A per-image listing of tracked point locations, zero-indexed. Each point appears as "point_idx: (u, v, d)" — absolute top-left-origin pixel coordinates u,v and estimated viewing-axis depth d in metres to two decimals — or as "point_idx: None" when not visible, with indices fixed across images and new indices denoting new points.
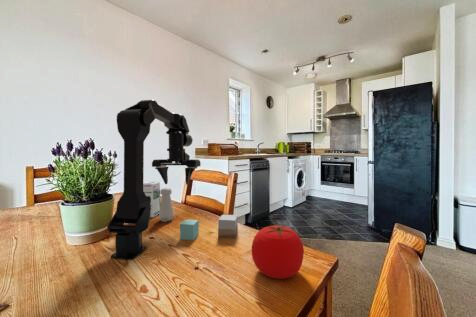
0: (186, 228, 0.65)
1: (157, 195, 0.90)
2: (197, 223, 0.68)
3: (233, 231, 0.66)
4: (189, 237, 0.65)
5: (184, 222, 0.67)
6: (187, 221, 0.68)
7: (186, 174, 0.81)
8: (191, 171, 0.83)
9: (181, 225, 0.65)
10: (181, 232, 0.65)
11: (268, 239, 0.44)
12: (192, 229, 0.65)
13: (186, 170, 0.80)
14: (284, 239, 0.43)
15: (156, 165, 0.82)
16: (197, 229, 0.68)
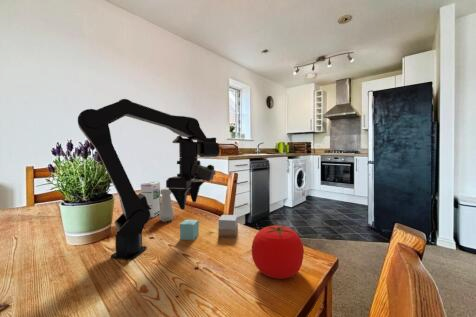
0: (186, 228, 0.65)
1: (157, 195, 0.90)
2: (197, 223, 0.68)
3: (233, 231, 0.66)
4: (189, 237, 0.65)
5: (184, 222, 0.67)
6: (187, 221, 0.68)
7: None
8: (183, 193, 0.61)
9: (181, 225, 0.65)
10: (181, 232, 0.65)
11: (268, 239, 0.44)
12: (192, 229, 0.65)
13: None
14: (284, 239, 0.43)
15: None
16: (197, 229, 0.68)
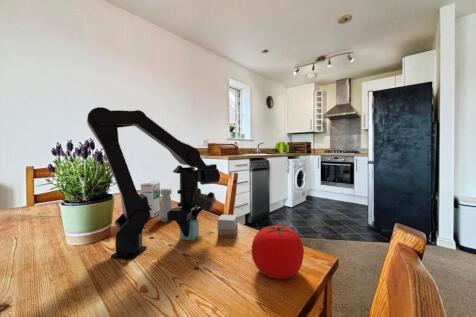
0: None
1: (157, 195, 0.90)
2: (197, 223, 0.68)
3: (233, 231, 0.66)
4: (189, 237, 0.65)
5: None
6: None
7: None
8: (186, 222, 0.63)
9: None
10: (181, 232, 0.65)
11: (268, 239, 0.44)
12: (192, 229, 0.65)
13: None
14: (284, 239, 0.43)
15: None
16: (197, 229, 0.68)
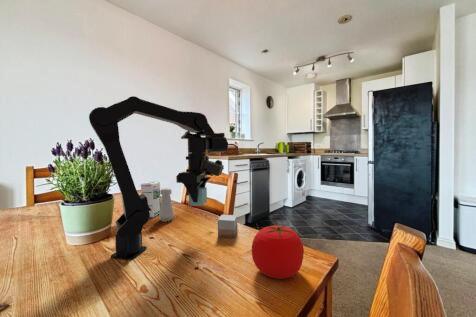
0: None
1: (157, 195, 0.90)
2: (205, 190, 0.68)
3: (233, 231, 0.66)
4: (198, 202, 0.65)
5: None
6: None
7: None
8: (195, 186, 0.63)
9: None
10: (190, 198, 0.66)
11: (268, 239, 0.44)
12: (201, 194, 0.65)
13: None
14: (284, 239, 0.43)
15: None
16: (205, 196, 0.68)
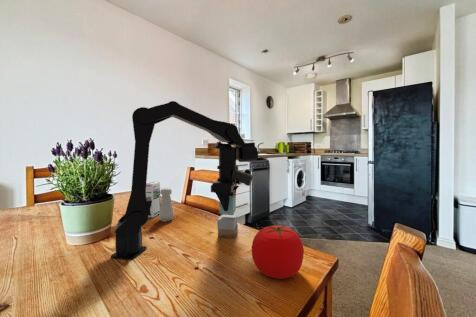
0: None
1: (157, 195, 0.90)
2: (235, 199, 0.70)
3: (233, 231, 0.66)
4: (228, 211, 0.66)
5: None
6: None
7: None
8: (227, 196, 0.65)
9: None
10: (220, 206, 0.67)
11: (268, 239, 0.44)
12: (232, 203, 0.66)
13: None
14: (284, 239, 0.43)
15: None
16: (235, 204, 0.70)
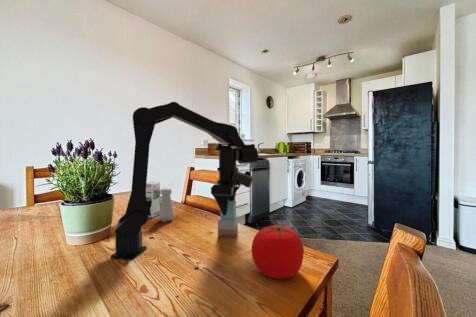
0: None
1: (157, 195, 0.90)
2: (235, 204, 0.70)
3: (233, 231, 0.66)
4: (229, 216, 0.67)
5: None
6: None
7: None
8: (226, 199, 0.63)
9: None
10: (221, 212, 0.67)
11: (268, 239, 0.44)
12: (232, 209, 0.66)
13: None
14: (284, 239, 0.43)
15: None
16: (235, 210, 0.70)
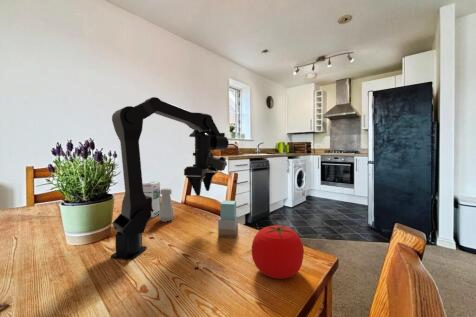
0: (226, 207, 0.67)
1: (157, 195, 0.90)
2: (235, 204, 0.70)
3: (233, 231, 0.66)
4: (229, 216, 0.67)
5: (223, 202, 0.69)
6: (226, 202, 0.70)
7: None
8: (198, 181, 0.68)
9: (221, 205, 0.67)
10: (221, 212, 0.67)
11: (268, 239, 0.44)
12: (232, 208, 0.67)
13: None
14: (284, 239, 0.43)
15: None
16: (235, 209, 0.70)
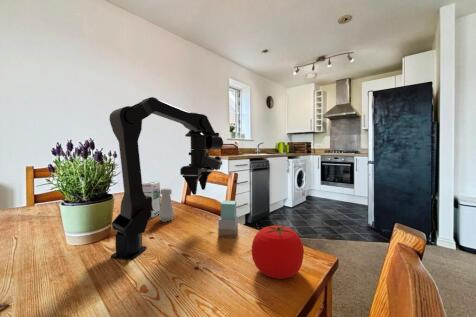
0: (227, 207, 0.67)
1: (157, 195, 0.90)
2: (235, 203, 0.70)
3: (233, 231, 0.66)
4: (230, 216, 0.67)
5: (224, 202, 0.68)
6: (226, 202, 0.69)
7: None
8: (194, 180, 0.69)
9: (222, 205, 0.67)
10: (222, 212, 0.67)
11: (268, 239, 0.44)
12: (233, 208, 0.67)
13: None
14: (284, 239, 0.43)
15: None
16: (235, 209, 0.70)
